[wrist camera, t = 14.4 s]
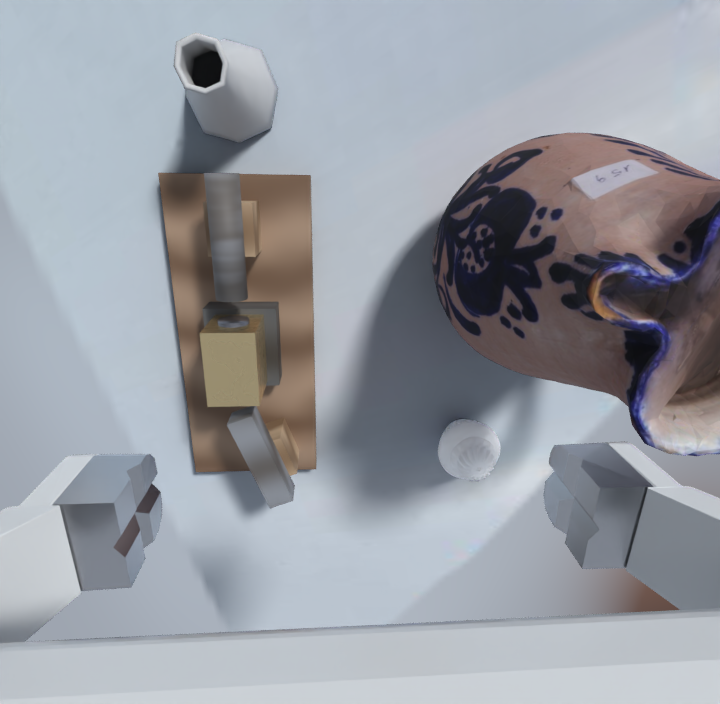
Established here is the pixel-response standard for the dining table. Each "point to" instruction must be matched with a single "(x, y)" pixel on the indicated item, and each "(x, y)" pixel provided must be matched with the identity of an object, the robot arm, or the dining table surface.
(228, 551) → the dining table surface
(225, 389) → the tan rectangular block
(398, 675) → the robot arm
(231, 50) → the flask
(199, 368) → the shaft stand
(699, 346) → the ceramic pitcher
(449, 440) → the white rounded piece
